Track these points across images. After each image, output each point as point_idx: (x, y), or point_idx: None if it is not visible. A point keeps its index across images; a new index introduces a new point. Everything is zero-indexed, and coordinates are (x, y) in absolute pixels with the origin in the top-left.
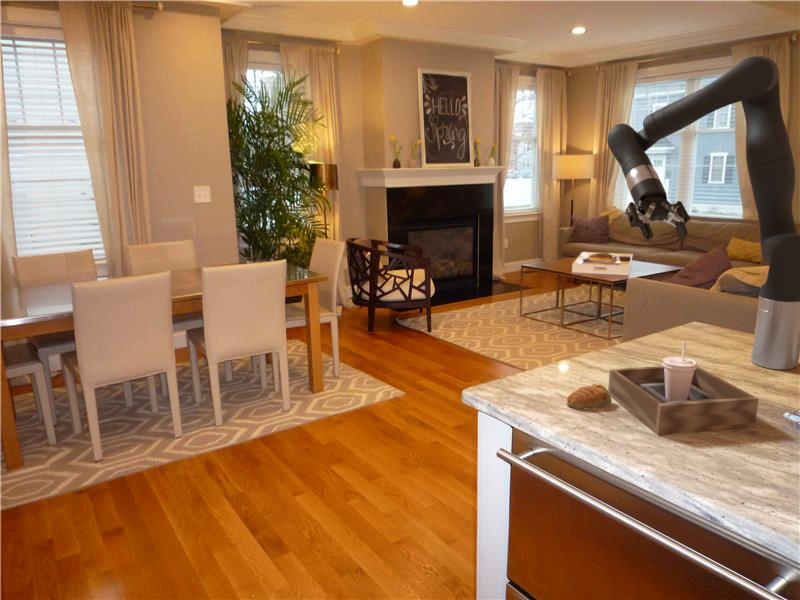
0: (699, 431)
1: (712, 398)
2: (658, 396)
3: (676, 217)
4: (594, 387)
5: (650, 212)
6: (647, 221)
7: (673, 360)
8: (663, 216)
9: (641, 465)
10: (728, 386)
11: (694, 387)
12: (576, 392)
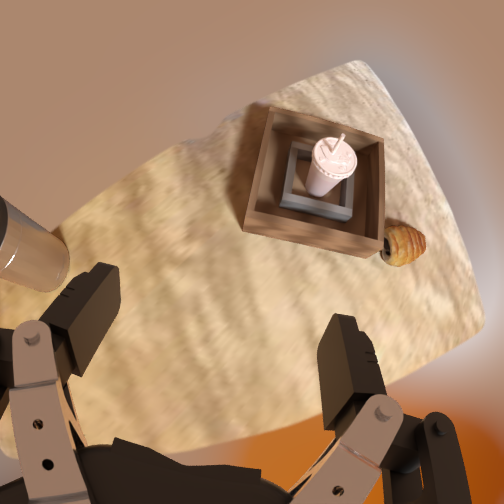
0: None
1: (294, 147)
2: (353, 177)
3: (46, 371)
4: (402, 240)
5: (333, 479)
6: (364, 406)
7: (344, 159)
8: (143, 452)
9: (406, 132)
10: (268, 141)
11: (289, 178)
12: (419, 246)
